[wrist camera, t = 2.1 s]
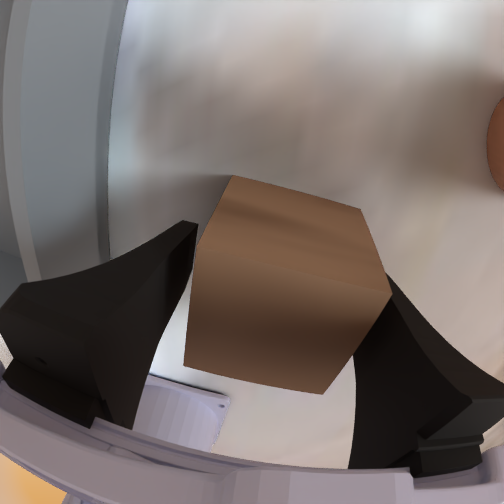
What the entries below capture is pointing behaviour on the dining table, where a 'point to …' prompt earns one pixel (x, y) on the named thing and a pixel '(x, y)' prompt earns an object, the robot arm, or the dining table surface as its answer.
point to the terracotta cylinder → (496, 144)
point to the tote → (55, 136)
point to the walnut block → (282, 288)
